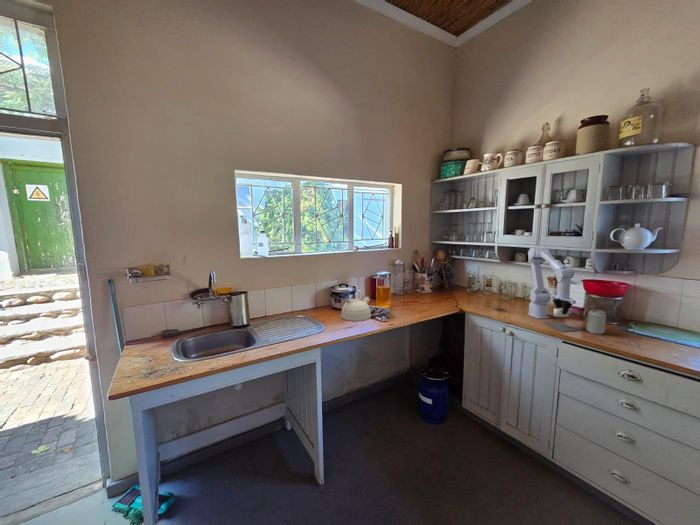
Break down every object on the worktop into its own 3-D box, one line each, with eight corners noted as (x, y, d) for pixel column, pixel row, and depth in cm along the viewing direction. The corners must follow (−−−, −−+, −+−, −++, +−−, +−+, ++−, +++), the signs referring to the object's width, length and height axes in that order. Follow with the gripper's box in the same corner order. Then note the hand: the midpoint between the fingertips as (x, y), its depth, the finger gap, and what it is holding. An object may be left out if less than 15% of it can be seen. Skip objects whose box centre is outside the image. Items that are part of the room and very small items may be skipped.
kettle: (376, 318, 185) (376, 291, 182) (347, 323, 177) (346, 294, 175) (364, 310, 203) (363, 285, 201) (336, 314, 196) (336, 288, 194)
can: (584, 329, 158) (586, 308, 157) (602, 331, 154) (604, 309, 153) (587, 333, 152) (589, 311, 150) (606, 335, 148) (608, 313, 146)
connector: (556, 317, 159) (557, 310, 158) (551, 315, 162) (552, 308, 162) (572, 316, 160) (572, 309, 159) (566, 314, 163) (567, 307, 163)
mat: (543, 323, 168) (543, 322, 168) (558, 322, 169) (559, 321, 169) (563, 331, 154) (563, 331, 154) (579, 330, 155) (580, 330, 155)
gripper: (546, 287, 166) (545, 309, 168) (567, 292, 152) (566, 317, 153) (557, 286, 167) (556, 309, 168) (580, 292, 152) (578, 316, 154)
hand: (561, 313), depth 161 cm, fingers closed on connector, 3 cm apart
